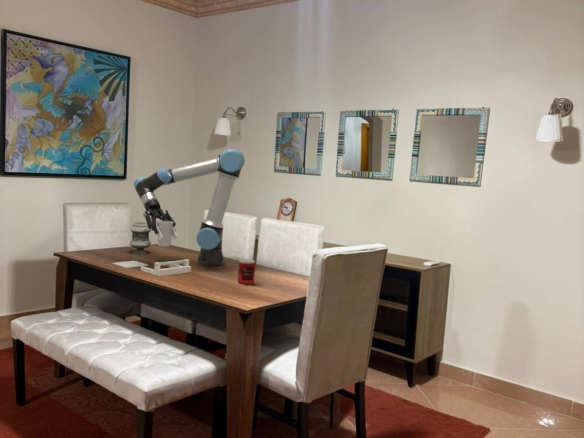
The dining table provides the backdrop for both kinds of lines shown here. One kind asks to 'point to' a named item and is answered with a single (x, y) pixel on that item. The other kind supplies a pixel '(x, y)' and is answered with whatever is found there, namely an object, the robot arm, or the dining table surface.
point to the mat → (130, 264)
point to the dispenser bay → (169, 271)
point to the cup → (165, 232)
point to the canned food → (246, 271)
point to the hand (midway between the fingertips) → (168, 238)
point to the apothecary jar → (140, 237)
